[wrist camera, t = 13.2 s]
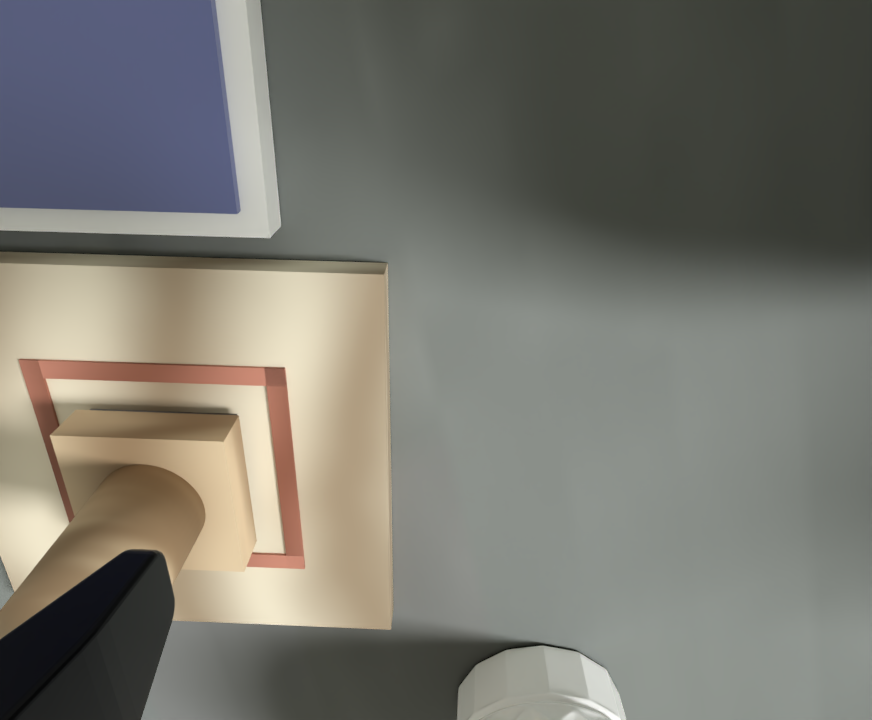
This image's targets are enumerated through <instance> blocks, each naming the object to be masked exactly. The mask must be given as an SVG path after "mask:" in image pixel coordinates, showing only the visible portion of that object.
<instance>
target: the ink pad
mask: <svg viewBox="0 0 872 720" xmlns="http://www.w3.org/2000/svg"><path fill="white" fill-rule="evenodd" d="M280 227H281V217H280V206H279V196H278V185H277V174H276V163H275V153H274V142H273V131H272V120H271V110H270V99H269V88H268V77H267V66H266V56H265V45H264V34H263V23H262V13H261V2H260V0H0V230H5V231H40V232H74V233H109V234H144V235H179V236H214V237H248V238H271V237H272V235H273V234H274V233H275V232H276V231H277V230H278V229H279V228H280Z"/></svg>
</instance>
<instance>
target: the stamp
mask: <svg viewBox="0 0 872 720" xmlns="http://www.w3.org/2000/svg"><path fill="white" fill-rule="evenodd" d="M50 438H51V441H52V444H53V448H54V451H55V454H56V457H57V461H58V464H59V467H60V470H61V474H62V477H63V480H64V483H65V487H66V490H67V493H68V496H69V500H70V503H71V506H72V510H73V513H74V516H75V517H74V518H73V520H72V521H71V522H70V523H69V525H68V526H67V527H66V528H65V530H64V531H63V532H62V533H61V535H60V536H59V537H58V538H57V540H56V541H55V542H54V543H53V545H52V546H51V547H50V548H49V550H48V551H47V552H46V553H45V555H44V556H43V557H42V559H41V560H40V561H39V562H38V564H37V565H36V566H35V567H34V569H33V570H32V571H31V572H30V574H29V575H28V576H27V577H26V579H25V580H24V581H23V582H22V584H21V585H20V586H19V587H18V589H17V590H16V591H15V592H14V594H13V595H12V596H11V597H10V599H9V600H8V601H7V602H6V604H5V605H4V606H3V607H2V609H1V610H0V639H1V638H2V637H4V636H5V635H6V634H8V633H9V632H11V631H12V630H13V629H15V628H16V627H18V626H19V625H21V624H22V623H23V622H25V621H26V620H28V619H29V618H30V617H32V616H33V615H35V614H36V613H37V612H39V611H40V610H42V609H43V608H44V607H46V606H47V605H49V604H50V603H51V602H53V601H54V600H56V599H57V598H58V597H60V596H61V595H63V594H64V593H65V592H67V591H68V590H70V589H71V588H72V587H74V586H75V585H77V584H78V583H79V582H81V581H82V580H84V579H85V578H86V577H88V576H89V575H91V574H92V573H93V572H95V571H96V570H98V569H99V568H100V567H102V566H103V565H105V564H106V563H107V562H109V561H110V560H112V559H113V558H115V557H116V556H117V555H119V554H120V553H122V552H124V551H126V550H129V549H147V550H158V551H161V552H162V553H163V555H164V556H165V559H166V562H167V566H168V571H169V575H170V579H171V584H172V586H173V584H174V582H175V580H176V578H177V576H178V575H179V573H180V571H181V569H184V570H209V571H233V572H245V569H246V567H247V564H248V562H249V559H250V557H251V554H252V552H253V549H254V547H255V544H256V542H257V539H256V532H255V525H254V518H253V511H252V504H251V497H250V490H249V483H248V476H247V469H246V462H245V455H244V448H243V441H242V434H241V427H240V420H239V415H237V414H229V413H200V412H172V411H144V410H116V409H90V410H75V411H74V412H73V413H72V414H71V415H70V416H69V417H68V418H67V419H66V420H65V421H64V422H63V423H62V424H61V425H60V426H59V427H58V428H57V429H56V430H55V431H54V432H53V433H52V434H51V435H50Z"/></svg>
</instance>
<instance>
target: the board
mask: <svg viewBox="0 0 872 720" xmlns="http://www.w3.org/2000/svg"><path fill="white" fill-rule="evenodd" d="M90 409H116V410H144V411H172V412H200V413H229V414H237V415H239V420H240V427H241V434H242V441H243V448H244V455H245V462H246V469H247V476H248V483H249V490H250V497H251V504H252V511H253V518H254V525H255V532H256V539H257V542H256V544H255V547H254V549H253V552H252V554H251V557H250V559H249V562H248V564H247V567H246V569H245V572H233V571H209V570H184V569H181V571H180V573H179V575H178V576H177V578H176V580H175V582H174V584H173V586H172V588H173V592H174V597H175V610H174V616H173V620H175V621H199V622H222V623H246V624H269V625H293V626H316V627H340V628H363V629H387V630H391V624H392V616H393V555H392V493H391V432H390V371H389V309H388V263H372V262H338V261H304V260H270V259H236V258H202V257H168V256H134V255H100V254H67V253H33V252H0V556H1V559H2V561H3V564H4V566H5V569H6V572H7V574H8V577H9V579H10V582H11V584H12V587H13V590H14V592H15V591H16V590H17V589H18V587H19V586H20V585H21V584H22V582H23V581H24V580H25V579H26V577H27V576H28V575H29V574H30V572H31V571H32V570H33V569H34V567H35V566H36V565H37V564H38V562H39V561H40V560H41V559H42V557H43V556H44V555H45V553H46V552H47V551H48V550H49V548H50V547H51V546H52V545H53V543H54V542H55V541H56V540H57V538H58V537H59V536H60V535H61V533H62V532H63V531H64V530H65V528H66V527H67V526H68V525H69V523H70V522H71V521H72V520H73V518H74V517H75V516H74V513H73V510H72V506H71V503H70V500H69V496H68V493H67V490H66V487H65V483H64V480H63V477H62V474H61V470H60V467H59V464H58V461H57V457H56V454H55V451H54V448H53V444H52V441H51V438H50V435H51V434H52V433H53V432H54V431H55V430H56V429H57V428H58V427H59V426H60V425H61V424H62V423H63V422H64V421H65V420H66V419H67V418H68V417H69V416H70V415H71V414H72V413H73V412H74V411H75V410H90Z"/></svg>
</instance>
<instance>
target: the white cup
mask: <svg viewBox="0 0 872 720" xmlns="http://www.w3.org/2000/svg"><path fill="white" fill-rule="evenodd" d="M457 720H626V716H625V713H624V709H623V706H622V702H621V699H620V695H619V693H618V691H617V689H616V687H615V685H614V683H613V681H612V679H611V677H610V676H609V674H608V672H607V670H606V669H605V668H603V667H602V666H600V665H599V664H597V663H595V662H594V661H592V660H591V659H589V658H587V657H586V656H584V655H583V654H581V653H579V652H576V651H571V650H566V649H560V648H555V647H549V646H544V645H541V646H532V647H524V648H516V649H508V650H505V651H503V652H500V653H498V654H496V655H494V656H492V657H490V658H488V659H486V660H484V661H482V662H480V663H478V664H476V665H475V667H474V668H473V669H472V670H471V672H470V673H469V674H468V676H467V677H466V678H465V679H464V681H463V682H462V683H461V685H460V686H459V689H458V707H457Z"/></svg>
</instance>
